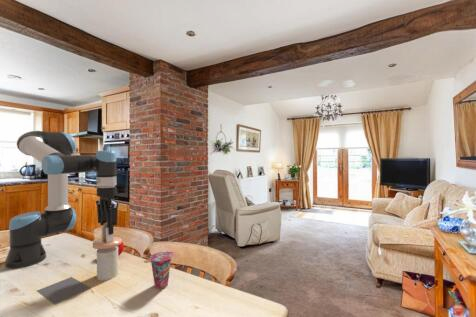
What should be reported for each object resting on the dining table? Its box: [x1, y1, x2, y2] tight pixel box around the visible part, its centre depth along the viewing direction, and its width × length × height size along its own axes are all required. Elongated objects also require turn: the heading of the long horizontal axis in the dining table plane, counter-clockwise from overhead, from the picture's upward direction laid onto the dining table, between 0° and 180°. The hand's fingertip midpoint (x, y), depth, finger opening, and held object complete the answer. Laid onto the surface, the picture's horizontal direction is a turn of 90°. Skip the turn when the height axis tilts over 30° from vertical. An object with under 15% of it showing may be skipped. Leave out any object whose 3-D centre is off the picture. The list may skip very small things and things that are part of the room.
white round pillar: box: [96, 246, 120, 281], centre depth 103 cm, size 8×8×12 cm
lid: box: [92, 222, 123, 250], centre depth 103 cm, size 11×11×9 cm
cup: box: [149, 251, 175, 290], centre depth 97 cm, size 9×8×12 cm
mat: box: [36, 276, 91, 305], centre depth 93 cm, size 16×12×1 cm
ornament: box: [117, 241, 125, 257], centre depth 123 cm, size 9×9×10 cm
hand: (107, 240), depth 103 cm, fingers closed on lid, 3 cm apart
